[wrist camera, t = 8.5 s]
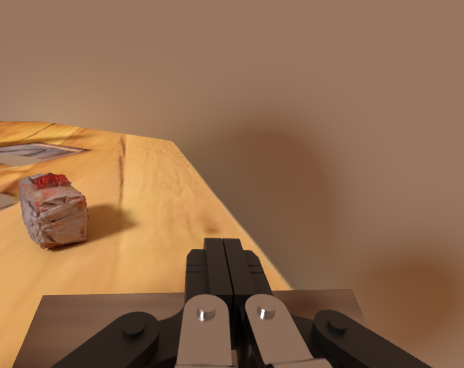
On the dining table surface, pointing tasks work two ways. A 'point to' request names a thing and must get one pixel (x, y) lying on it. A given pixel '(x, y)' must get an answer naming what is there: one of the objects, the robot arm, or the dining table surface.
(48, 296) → the panel
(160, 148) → the dining table surface
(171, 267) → the dining table surface
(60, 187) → the food item
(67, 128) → the dining table surface
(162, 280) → the dining table surface
